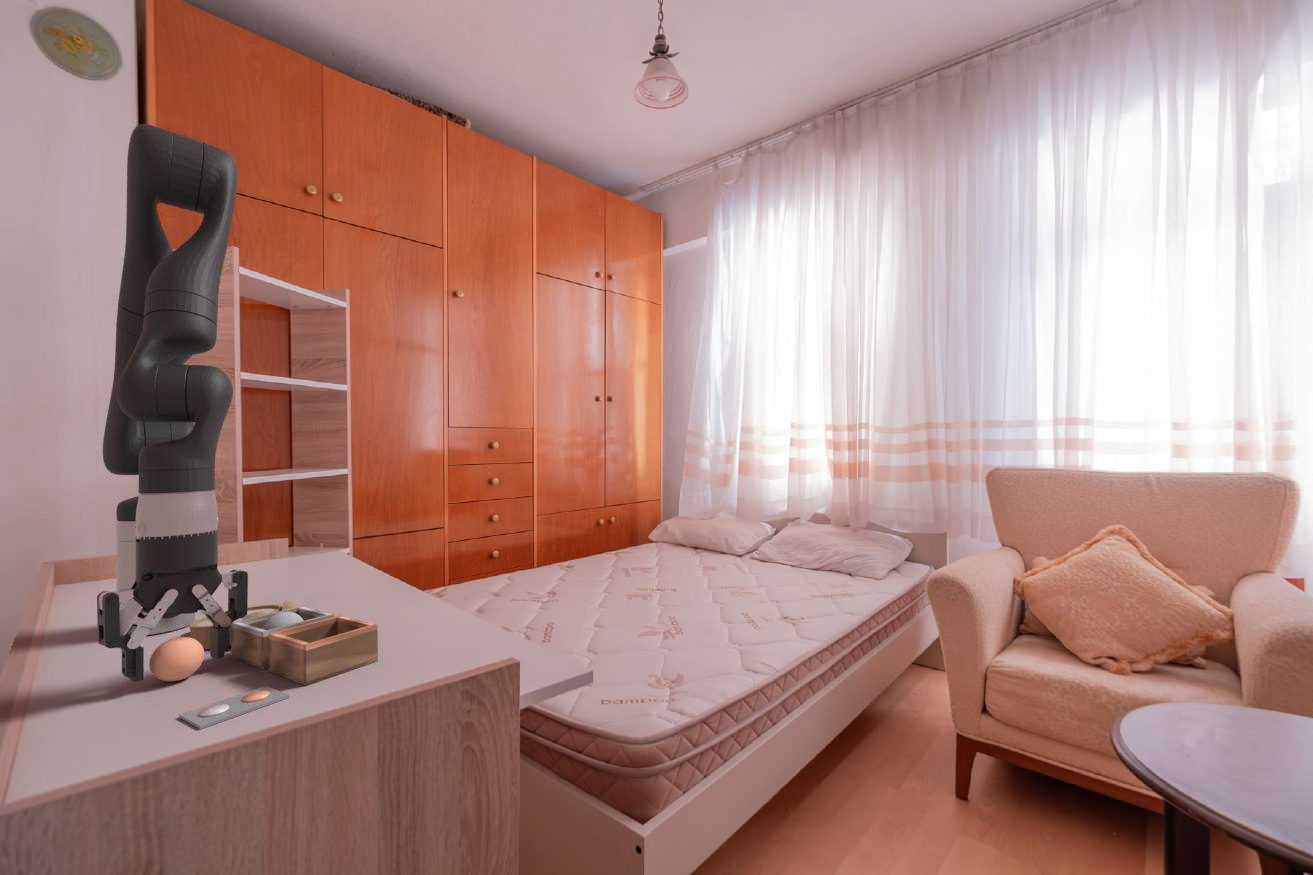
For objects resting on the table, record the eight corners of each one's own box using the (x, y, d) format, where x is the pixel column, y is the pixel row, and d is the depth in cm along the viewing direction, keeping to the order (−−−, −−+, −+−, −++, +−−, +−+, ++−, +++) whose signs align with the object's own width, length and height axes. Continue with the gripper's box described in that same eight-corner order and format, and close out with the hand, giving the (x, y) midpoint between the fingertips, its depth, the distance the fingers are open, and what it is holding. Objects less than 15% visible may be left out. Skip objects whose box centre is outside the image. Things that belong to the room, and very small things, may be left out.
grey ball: (254, 652, 75) (253, 615, 75) (294, 640, 79) (293, 605, 79) (272, 659, 73) (272, 620, 73) (313, 646, 77) (312, 609, 77)
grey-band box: (231, 657, 74) (231, 622, 75) (301, 638, 82) (300, 606, 82) (263, 669, 70) (263, 632, 70) (334, 647, 77) (334, 614, 78)
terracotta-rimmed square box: (268, 671, 69) (268, 633, 69) (339, 649, 77) (339, 615, 77) (306, 685, 65) (306, 645, 65) (377, 660, 72) (377, 624, 72)
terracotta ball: (142, 683, 66) (142, 640, 67) (194, 668, 71) (194, 628, 71) (159, 691, 64) (159, 647, 64) (211, 676, 68) (211, 634, 68)
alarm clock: (232, 607, 89) (320, 590, 88) (237, 638, 89) (325, 621, 88) (165, 630, 78) (264, 611, 77) (170, 665, 78) (270, 646, 77)
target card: (179, 717, 57) (179, 712, 57) (266, 688, 64) (266, 683, 64) (200, 729, 55) (200, 723, 55) (289, 697, 62) (288, 692, 62)
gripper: (232, 521, 76) (233, 645, 75) (85, 536, 64) (84, 683, 63) (260, 523, 72) (261, 654, 72) (108, 540, 60) (108, 697, 59)
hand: (178, 667), depth 67 cm, fingers open, 7 cm apart
